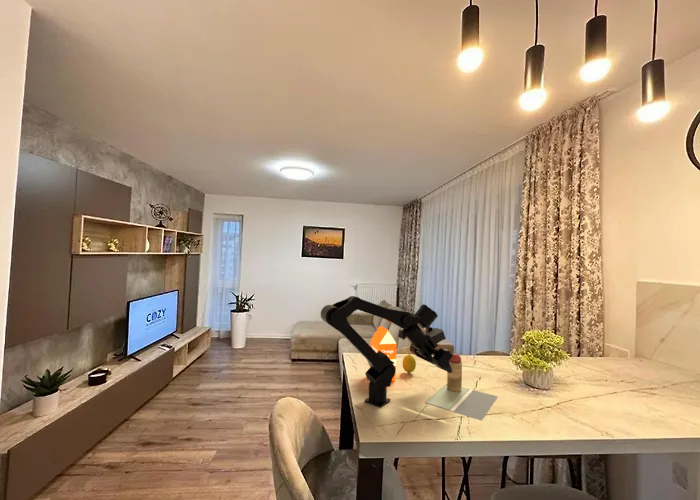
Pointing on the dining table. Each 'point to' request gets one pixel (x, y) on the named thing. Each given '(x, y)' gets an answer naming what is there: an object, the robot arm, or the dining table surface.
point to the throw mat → (463, 402)
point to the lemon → (409, 363)
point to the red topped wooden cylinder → (455, 374)
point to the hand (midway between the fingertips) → (442, 367)
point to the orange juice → (384, 345)
